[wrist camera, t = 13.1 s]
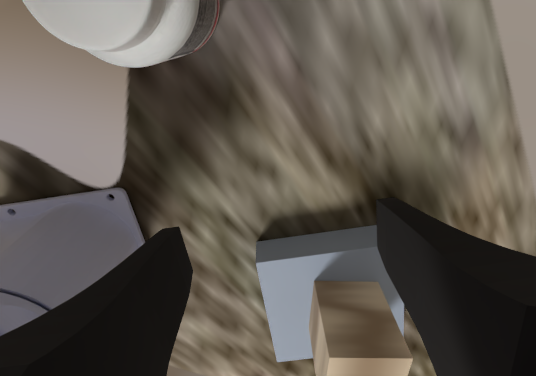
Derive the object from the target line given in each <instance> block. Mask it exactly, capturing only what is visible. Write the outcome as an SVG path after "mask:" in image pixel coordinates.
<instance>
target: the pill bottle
mask: <svg viewBox="0 0 536 376" xmlns="http://www.w3.org/2000/svg"><path fill="white" fill-rule="evenodd" d="M22 1H23V2H24V4H25V5H26V7H27V8H28V10H29V11H30V13H31V14H32V15H33V16H34V17H35V18H36V20H37V21H38V22H39V23H40V24H41V25H42V26H43V27H44V28H45V29H46V30H47V31H49V32H50V33H51V34H53V35H54V36H56V37H57V38H59V39H60V40H62V41H63V42H65V43H67V44H69V45H72V46H74V47H77V48H80V49H85V50H86V51H88V52H89V53H90V54H92V55H94V56H95V57H97V58H99V59H101V60H103V61H105V62H107V63H110V64H113V65H117V66H122V67H130V68H140V67H146V66H151V65H155V64H158V63H161V62H164V61H168V60H171V59H175V58H179V57H182V56H185V55H188V54H191V53H193V52H195V51H197V50H198V49H200V48H201V47H202V46H203V45H204V44H205V43H206V42H207V41H208V40H209V39H210V37H211V36H212V34H213V32H214V30H215V27H216V25H217V21H218V18H219V7H220V2H219V0H22Z"/></svg>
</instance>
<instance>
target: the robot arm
mask: <svg viewBox="0 0 536 376" xmlns="http://www.w3.org/2000/svg"><path fill="white" fill-rule="evenodd" d="M109 194H112V195H113V196H114V198H111V197H110V196H109ZM376 207H377V248H378V251H379V254H380V256H381V259H382V262H383V264H384V267H385V269H386V272H387V274H388V275H389V277H390V279H391V281H392V283H393V285H394V287H395V289H396V290H397V292H398V294H399V296H400V298H401V300H402V301H403V303H404V305H405V307H406V309H407V311H408V312H409V314H410V316H411V318H412V320H413V322H414V323H415V325H416V327H417V330H418V332H419V334H420V336H421V338H422V340H423V343H424V345H425V348H426V350H427V352H428V355H429V357H430V360H431V362H432V364H433V367H434V369H435V372H436V375H437V376H536V257H535V256H532V255H528V254H525V253H521V252H518V251H514V250H511V249H508V248H505V247H502V246H499V245H496V244H493V243H491V242H488V241H485V240H482V239H480V238H477V237H474V236H472V235H469V234H467V233H465V232H463V231H460V230H458V229H456V228H454V227H451V226H449V225H447V224H445V223H443V222H441V221H439V220H437V219H435V218H433V217H431V216H429V215H427V214H425V213H423V212H421V211H420V210H418V209H416V208H414V207H412V206H410V205H409V204H407V203H405V202H403V201H401V200H399V199H397V198H394V197H392V198H385V199H378V200H376ZM12 209H13V210H14V211H15V212H16V213H15V212H13V211H12ZM192 274H193V269H192V266H191V263H190V260H189V257H188V253H187V250H186V247H185V244H184V241H183V238H182V235H181V231H180V228H179V227H172V228H165V229H162V230H160V231H159V232H158V233H156V234H155V235H154V236H152V237H151V238H150V239H149V240H148V241H146V242H145V240H144V238H143V235H142V232H141V230H140V227H139V224H138V222H137V219H136V216H135V214H134V211H133V208H132V206H131V203H130V201H129V198H128V195H127V193H126V191H125V190H124V189H122V188H111V189H104V190H98V191H91V192H84V193H78V194H71V195H64V196H58V197H51V198H44V199H38V200H31V201H24V202H18V203H11V204H4V205H0V376H166V375H167V369H168V365H169V361H170V357H171V353H172V349H173V346H174V343H175V340H176V336H177V333H178V330H179V327H180V324H181V320H182V317H183V314H184V311H185V307H186V304H187V301H188V297H189V293H190V287H191V281H192Z"/></svg>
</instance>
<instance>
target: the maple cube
mask: <svg viewBox="0 0 536 376" xmlns="http://www.w3.org/2000/svg"><path fill="white" fill-rule="evenodd" d="M309 333H310V340H311V346H312V353H313V360H314V366H315V373H316V376H408V372H409V369H410V366H411V363H412V360H413V358H412V355H411V353H410V351H409V349H408V347H407V344H406V342H405V340H404V338H403V336H402V333H401V331H400V329H399V327H398V324H397V322H396V320H395V318H394V316H393V313H392V311H391V309H390V307H389V305H388V302H387V300H386V298H385V296H384V294H383V291H382V289H381V287H380V285H379V283H378V282H363V281H314V285H313V294H312V303H311V311H310V320H309Z"/></svg>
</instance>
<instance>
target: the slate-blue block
mask: <svg viewBox="0 0 536 376" xmlns="http://www.w3.org/2000/svg"><path fill="white" fill-rule="evenodd" d="M256 266H257V271H258V276H259V280H260V285H261V289H262V294H263V299H264V303H265V308H266V313H267V317H268V322H269V326H270V331H271V336H272V340H273V345H274V350H275V354H276V359H277V362H282V361H291V360H300V359H308V358H313V353H312V346H311V340H310V333H309V320H310V311H311V303H312V294H313V285H314V281H363V282H378V283H379V285H380V287H381V289H382V291H383V294H384V296H385V298H386V300H387V302H388V305H389V307H390V309H391V311H392V313H393V316H394V318H395V320H396V322H397V324H398V327H399V329H400V331H401V333H402V336H403V330H404V303H403V301H402V300H401V298H400V296H399V294H398V292H397V290H396V289H395V287H394V285H393V283H392V281H391V279H390V277H389V275H388V274H387V272H386V269H385V267H384V264H383V262H382V259H381V256H380V254H379V251H378V248H377V225H372V226H365V227H358V228H351V229H344V230H337V231H330V232H322V233H315V234H308V235H301V236H294V237H287V238H279V239H272V240H265V241H258V242H257V244H256Z"/></svg>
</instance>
